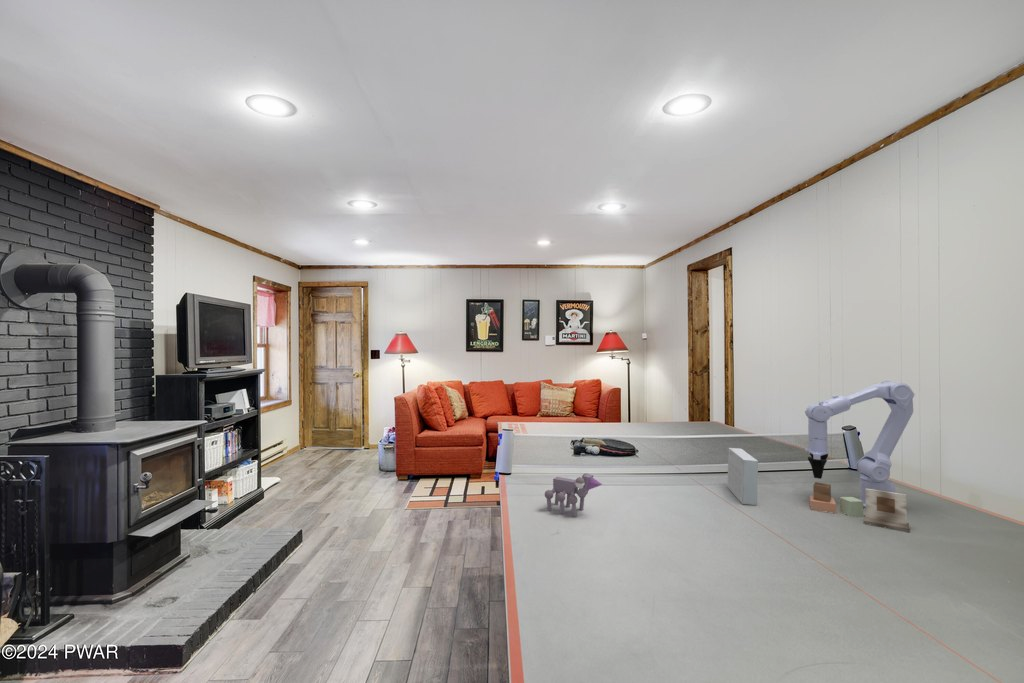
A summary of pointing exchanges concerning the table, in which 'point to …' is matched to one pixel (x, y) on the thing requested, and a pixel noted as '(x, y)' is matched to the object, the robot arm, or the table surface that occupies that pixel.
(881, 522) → the card
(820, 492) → the walnut block
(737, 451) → the skincare box
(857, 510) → the sage block
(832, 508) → the base block
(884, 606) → the table surface
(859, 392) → the robot arm
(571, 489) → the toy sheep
